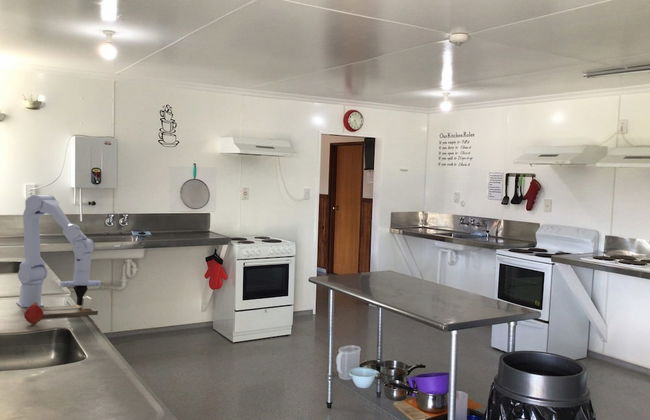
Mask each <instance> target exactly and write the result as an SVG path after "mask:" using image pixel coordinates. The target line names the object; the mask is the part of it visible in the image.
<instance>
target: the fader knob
mask: <svg viewBox="0 0 650 420" xmlns="http://www.w3.org/2000/svg"><path fill="white" fill-rule="evenodd" d="M92 300H93V299H92V298H91V297H90V296H88V295H84V296H83V298H82V305H80V306H79V307H80V308H82V309H91V307H92V304H93V303H92Z"/></svg>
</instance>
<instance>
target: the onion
mask: <svg viewBox="0 0 650 420" xmlns="http://www.w3.org/2000/svg"><path fill="white" fill-rule="evenodd" d="M41 307H42V306H40V307H39V306H38V305H37V302H35V303H34V304H32V305H31V306H30V307H27V308H26V310H25V312H24V314H23V315H24V319H25V321H26V322H27V323H29V324H30V325H32V326H35V325H37V324H38V323H39V322H40V321H41V320H43V319H42V318H43V310H42V309H41Z"/></svg>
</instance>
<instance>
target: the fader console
mask: <svg viewBox="0 0 650 420" xmlns="http://www.w3.org/2000/svg"><path fill="white" fill-rule="evenodd" d="M40 307H41V309H42V310H43V318H42V319H41V320H44V319H57V318H58V317H60V318H70V317H71V318H72V317H85V316H87V317H88V316H97V315H99V310H97V309H96V308H94V306H91V309H82V308H80V307H79V306H78V305H77V304H75V305H74V304H73V305H58V306H57V305H56V306H55V305H54V306H40ZM58 319H59V318H58Z"/></svg>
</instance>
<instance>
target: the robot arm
mask: <svg viewBox="0 0 650 420" xmlns="http://www.w3.org/2000/svg"><path fill="white" fill-rule="evenodd" d="M24 206H25V207H24V211H23V216H22V221H23V241H24V242H23V243H24V244H23V245H24V247H23V248H24V260H23V261H22V262H21V263H20V264H19V268H18V269H19V270H18V272H17V278H18V280H19V281H20V287H19V288H20V289H19V299H18V301H16V304H17V305H18V306H20V307H21V308H28V307H30V306H31V305H32V304H34V303H35V302H37V305H38V306H39V307H45V305H44V303H42V291H43V283H44V280H45V279H46V278H47V277H48V270H47V267H46V262H45V260H43V258H41V240H40V239H41V237H40V236H41V234H40V233H41V232H40V219H41V217H43V216H44V215H45V214H47V215H51V216H50V217H52V218H53V219H54V220H55V222H56V223H57V224H58V225H59V226H60V227H61V228H62V229H63V230H62V234H63V235H64V237H65V238H66V239H67V240H68V242H69V243H70V244H71V245H72V247H71V248H72V252H73V255H74V269H73V279H72V280H65V281H60V282H59V283H60V285H59V287H60V288H72V287H73V291H74V292H75V296H76V305H78V306H80V305H82V298H83V296H85V294H86V293H87V292H88V289H89V287H101V286H102V285H101V283H102V281H101V280H90V273H91V262H92V254H93V252H95V249H96V245H95V242H94V240H93V239H92V238H88V237H87V235H85V234H84V233H83V232H82V230H81V227H80V225H77V224H76V223H71V221H70V220H69V218H68V217H67V216H66V214H65V213H64V211H63V209H62V208H61V207H60V203H59V201H58V200H57V199H56V198H55V196H54V195H52V194H46V195H45V194H44V195H43V194H42V195H41V194H31V195H29V196H28V198H26V199H25V205H24Z"/></svg>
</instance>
